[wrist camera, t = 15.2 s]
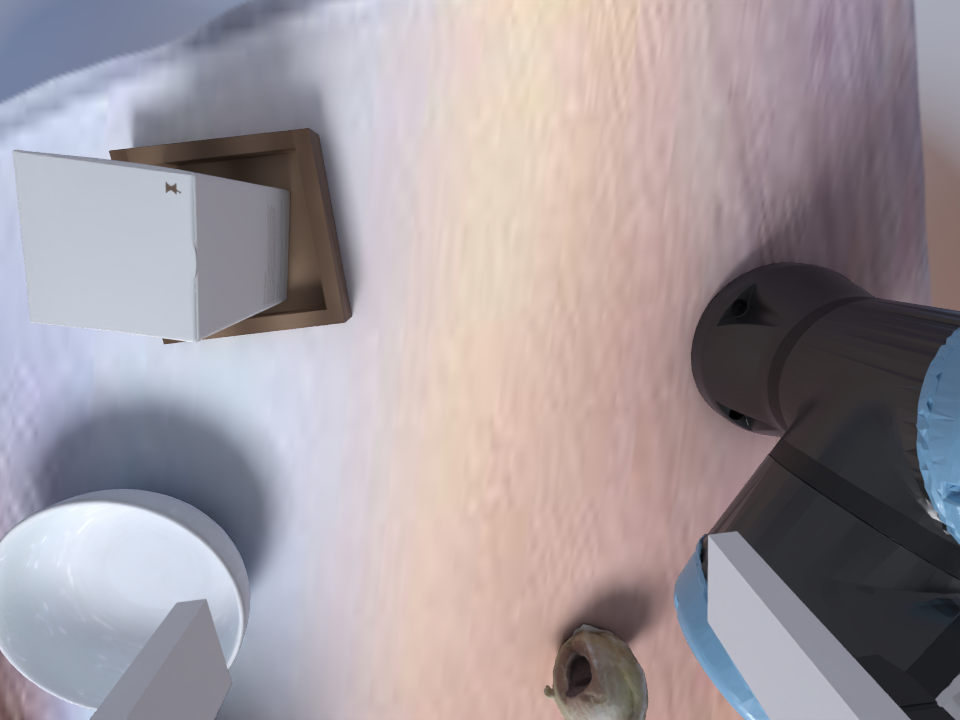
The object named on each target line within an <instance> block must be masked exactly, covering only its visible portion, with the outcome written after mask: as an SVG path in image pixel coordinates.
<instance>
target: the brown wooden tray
mask: <svg viewBox="0 0 960 720" xmlns="http://www.w3.org/2000/svg"><path fill="white" fill-rule="evenodd" d="M109 153H110V156H111V160H116V161H124V162H132V163H139V164H147V165H154V166H160V167H166V168H173V169H179V170H184V171H189V172H194V173H200V174H205V175H210V176H215V177H221V178H226V179H231V180H237V181H242V182H247V183H252V184H258V185H263V186H268V187H274V188H279V189H284V190H288V191H289V192H290V218H289V249H288V281H287V299H286V301H284V302H281V303H279V304H277V305H275V306H273V307H270V308H268V309H266V310H264V311H262V312H259V313H257V314H255V315H253V316H251V317H249V318H246V319H244V320H242V321H240V322H238V323H236V324H233V325H231V326H229V327H227V328H225V329H223V330H220V331H218V332H216V333H214V334H212V335H210V336H208V337H206V338H204V339H212V338H220V337H229V336H237V335H245V334H254V333H262V332H271V331H279V330H287V329H296V328H304V327H312V326H321V325H329V324H338V323H345V322H346V321H347V320H348V319H350V318H351V317H352V315H351V310H350V304H349V299H348V293H347V288H346V282H345V277H344V271H343V266H342V260H341V255H340V249H339V244H338V238H337V233H336V227H335V222H334V216H333V211H332V205H331V200H330V194H329V189H328V183H327V178H326V172H325V167H324V161H323V156H322V150H321V145H320V139H319V135H318V134H316V133H315V132H313V131H312V130H310V129H309V128H305V129H297V130H288V131H279V132H270V133H261V134H252V135H244V136H235V137H226V138H217V139H208V140H199V141H191V142H182V143H173V144H164V145H155V146H146V147H137V148H129V149H120V150H111V151H109ZM162 339H163V342H164V344H170V343H178V342H187V341H180V340H172V339H165V338H162ZM204 339H202V340H204Z"/></svg>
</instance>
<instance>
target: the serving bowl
mask: <svg viewBox="0 0 960 720" xmlns="http://www.w3.org/2000/svg"><path fill="white" fill-rule="evenodd" d="M200 599H207V602H208V606H209V609H210V612H211V616H212V619H213V622H214V625H215V629H216V632H217V635H218V639H219V642H220V645H221V648H222V652H223V655H224V658H225V662H226V665H227V668H228V669H229V668H230V666H231V665H232V663H233V661H234V660H235V658H236V655H237V653H238V651H239V649H240V646H241V644H242V640H243V637H244V634H245V631H246V627H247V623H248V618H249V611H250V587H249V580H248V575H247V572H246V568H245V565H244V562H243V560H242V558H241V556H240V553H239V551H238V550H237V548H236V546H235V545H234V543H233V542H232V540H231V539H230V538H229V536H228V535H227V534H226V533H225V531H224V530H223V529H222V528H221V527H220V526H219V525H218V524H217V523H216V522H215V521H214V520H212V519H211V518H210V517H209V516H207V515H206V514H205V513H203V512H202V511H200V510H199V509H197V508H195V507H194V506H192V505H190V504H188V503H186V502H183V501H181V500H179V499H176V498H173V497H171V496H167V495H164V494H160V493H156V492H151V491H146V490H137V489H108V490H100V491H94V492H89V493H85V494H81V495H77V496H74V497H71V498H68V499H65V500H63V501H60V502H57V503H55V504H53V505H51V506H48V507H46V508H44V509H42V510H39V511H37V512H36V513H34V514H32V515H30V516H28V517H27V518H25V519H24V520H22V521H21V522H19V523H18V524H17V525H15V526H14V527H13V528H12V529H11V530H10V531H9V532H7V533H6V535H5V536H4V537H3V538H2V539H1V540H0V650H1V651H2V653H3V654H4V655H5V657H6V658H7V659H8V660H9V662H10V663H11V664H12V665H13V666H14V667H15V668H16V669H17V670H18V671H19V672H20V673H21V674H23V675H24V676H25V677H26V678H27V679H29V680H30V681H31V682H33V683H34V684H36V685H37V686H38V687H40V688H41V689H43V690H45V691H47V692H48V693H50V694H52V695H54V696H56V697H58V698H60V699H62V700H64V701H67V702H69V703H72V704H75V705H77V706H81V707H84V708H88V709H91V710H97V709H98V708H99V706H100V705H101V703H102V702H103V701H104V699H105V698H106V697H107V695H108V694H109V693H110V691H111V690H112V689H113V687H114V686H115V685H116V683H117V682H118V681H119V679H120V678H121V677H122V675H123V674H124V673H125V671H126V670H127V669H128V667H129V666H130V664H131V663H132V662H133V660H134V659H135V658H136V656H137V655H138V654H139V652H140V651H141V650H142V648H143V647H144V646H145V644H146V643H147V642H148V640H149V639H150V638H151V636H152V635H153V634H154V632H155V631H156V630H157V628H158V627H159V626H160V624H161V623H162V621H163V620H164V619H165V617H166V616H167V615H168V613H169V612H170V611H171V609H172V608H173V607H174V605H175V604H176V603H177V602H184V601H192V600H200Z"/></svg>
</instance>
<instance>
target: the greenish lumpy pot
mask: <svg viewBox="0 0 960 720" xmlns="http://www.w3.org/2000/svg"><path fill="white" fill-rule="evenodd" d="M544 694H545V696H546V698H552V699H554V701H555V702H556V703H557V706H558V708H559V710H560V712H561V714H562V716H563V717H564V719H565V720H645V717H646V711H647V708H648V690H647V683H646V679H645V674H644V671H643V669H642V667H641V666H640V664H639V663H638V661H637V659H636V658H635V656H634V654H633V653H632V651H631V649H630V648H629V646H628V645H627V644H626V643H625V642H624V641H623V640H621V639H619V638H618V637H617V636H616V635H614V634H613V633H612V632H610V631H606V630H600V629H597V628H595V627H593V626H590V625H585V624H584V625H582V626H581V627H580V628H577V629H576V630H574V633H573V635H572V636H571V637H570V638H569V639H568V640H567V641H566V642H564V643H563V644H562V647H561V648H560V650H559V652H558V654H557V657H556V660H555V665H554V669H553V689H551V688H550V687H549V686H548V685H547V686H546V688H545V689H544Z"/></svg>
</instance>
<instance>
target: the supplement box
mask: <svg viewBox="0 0 960 720" xmlns="http://www.w3.org/2000/svg"><path fill="white" fill-rule="evenodd" d="M13 158H14V167H15V176H16V185H17V195H18V205H19V214H20V224H21V234H22V243H23V252H24V262H25V272H26V282H27V292H28V302H29V312H30V322H31V323H41V324H50V325H58V326H67V327H77V328H87V329H95V330H104V331H113V332H121V333H129V334H136V335H143V336H150V337H158V338H165V339H172V340H180V341H188V342H199V341H200V340H202V339H204V338H206V337H208V336H210V335H212V334H214V333H216V332H218V331H220V330H223V329H225V328H227V327H229V326H231V325H233V324H236V323H238V322H240V321H242V320H244V319H246V318H249V317H251V316H253V315H255V314H257V313H259V312H262V311H264V310H266V309H268V308H270V307H273V306H275V305H277V304H279V303H281V302H284V301H286V299H287V281H288V249H289V218H290V192H289V191H288V190H284V189H279V188H274V187H268V186H263V185H258V184H252V183H247V182H242V181H237V180H231V179H226V178H221V177H215V176H210V175H205V174H200V173H194V172H189V171H184V170H179V169H173V168H166V167H160V166H154V165H147V164H139V163H132V162H124V161H116V160H107V159H98V158H89V157H79V156H69V155H60V154H50V153H40V152H30V151H22V150H13Z"/></svg>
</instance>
